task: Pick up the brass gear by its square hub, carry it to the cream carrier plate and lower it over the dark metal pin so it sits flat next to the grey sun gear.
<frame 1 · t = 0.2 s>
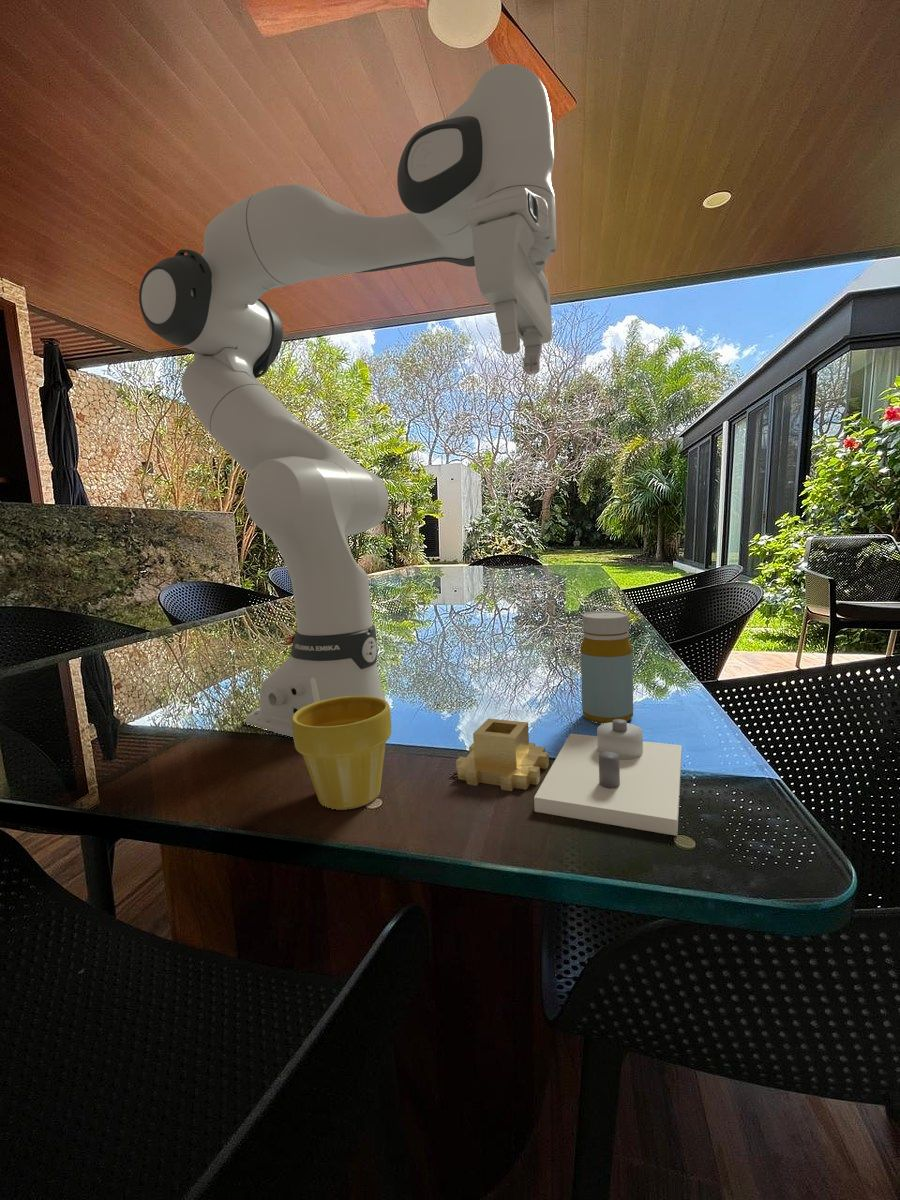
hand: (522, 363, 64), 47 cm above the table, tool pointing down, fingers open, 8 cm apart
bottle: (607, 718, 77), on the table
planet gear: (503, 768, 63), on the table
plant pot: (349, 796, 59), on the table
carrier plate: (614, 782, 58), on the table
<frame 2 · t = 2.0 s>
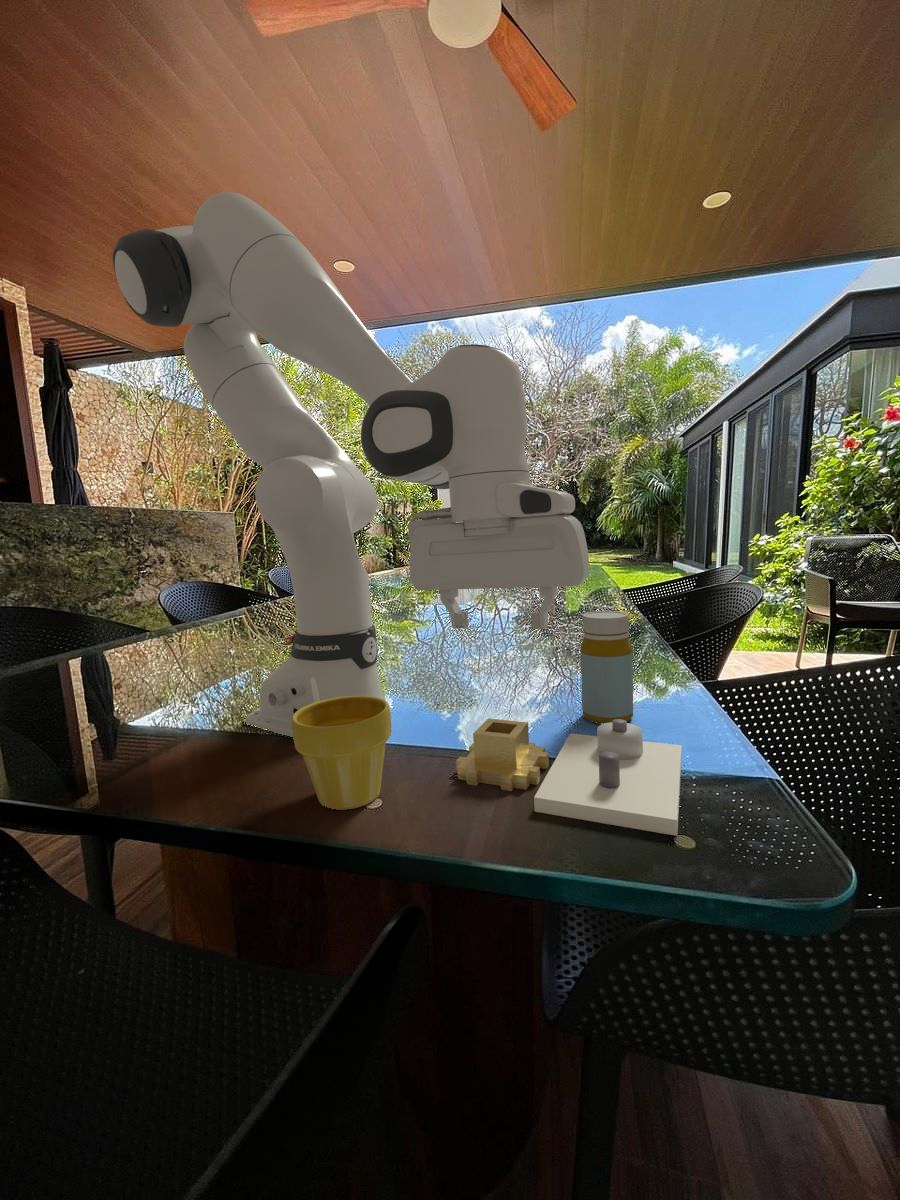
hand: (498, 627, 60), 17 cm above the table, tool pointing down, fingers open, 8 cm apart
nothing on the table moved.
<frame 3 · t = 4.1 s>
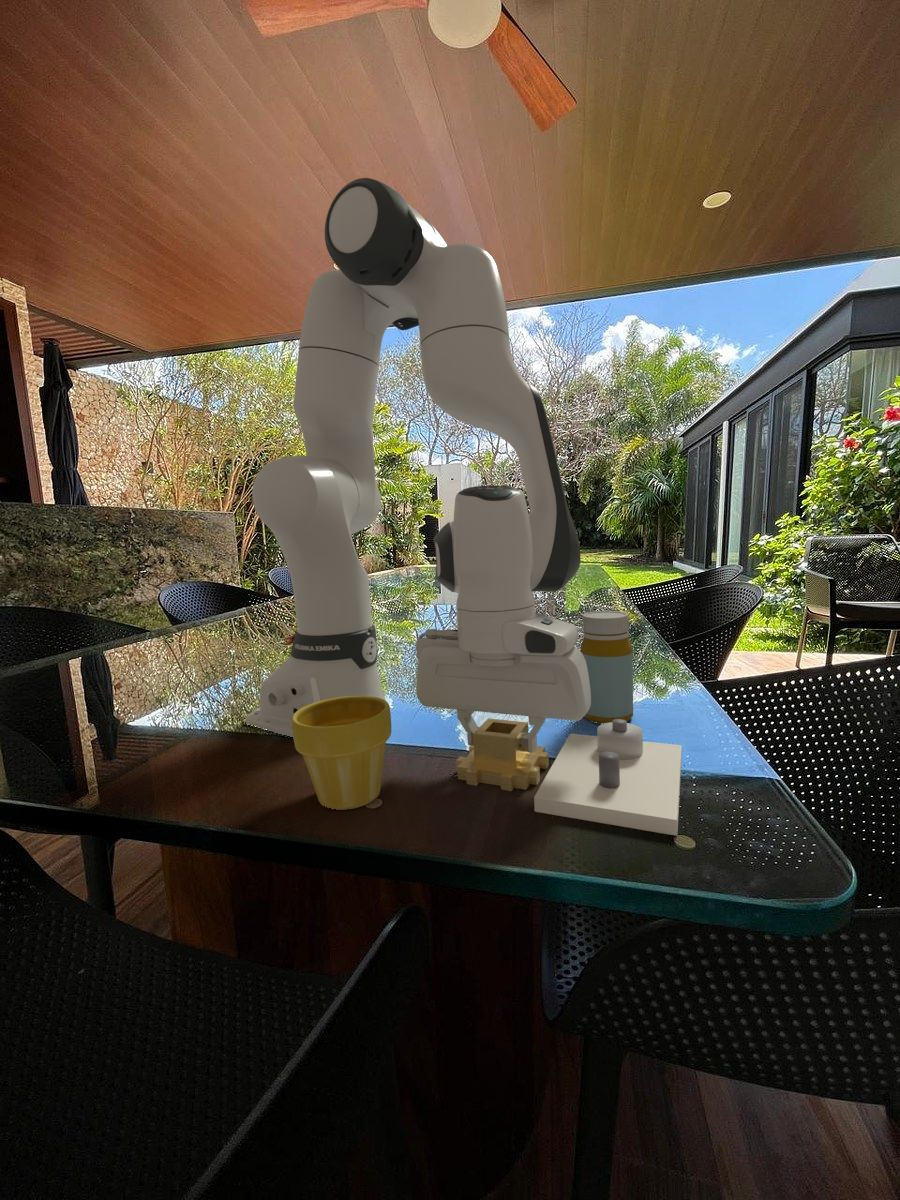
hand: (502, 747, 62), 3 cm above the table, tool pointing down, fingers closed on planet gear, 5 cm apart
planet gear: (503, 768, 63), on the table, touching gripper
everything else where it was.
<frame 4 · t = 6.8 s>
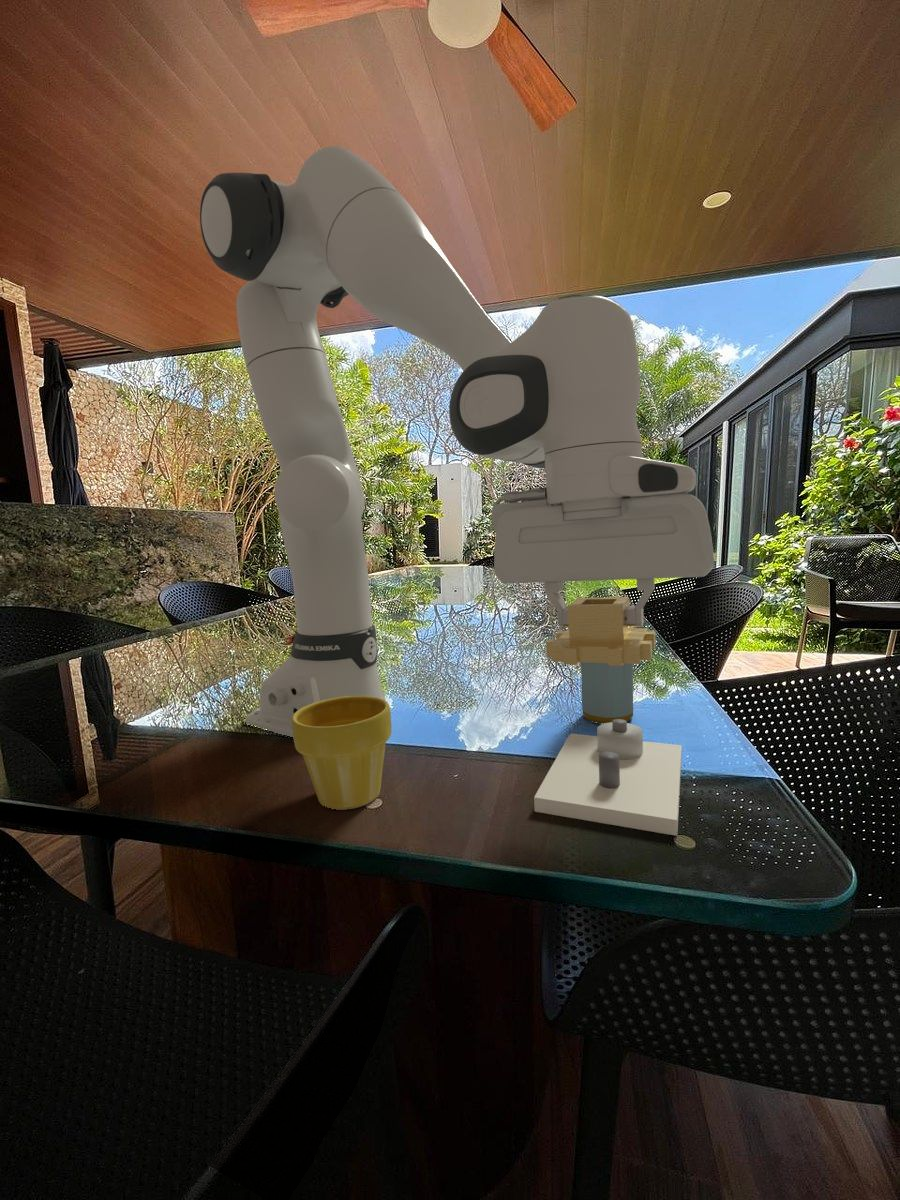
hand: (600, 625, 52), 18 cm above the table, tool pointing down, fingers closed on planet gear, 5 cm apart
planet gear: (601, 651, 53), point 15 cm above the table, touching gripper
everything else where it was.
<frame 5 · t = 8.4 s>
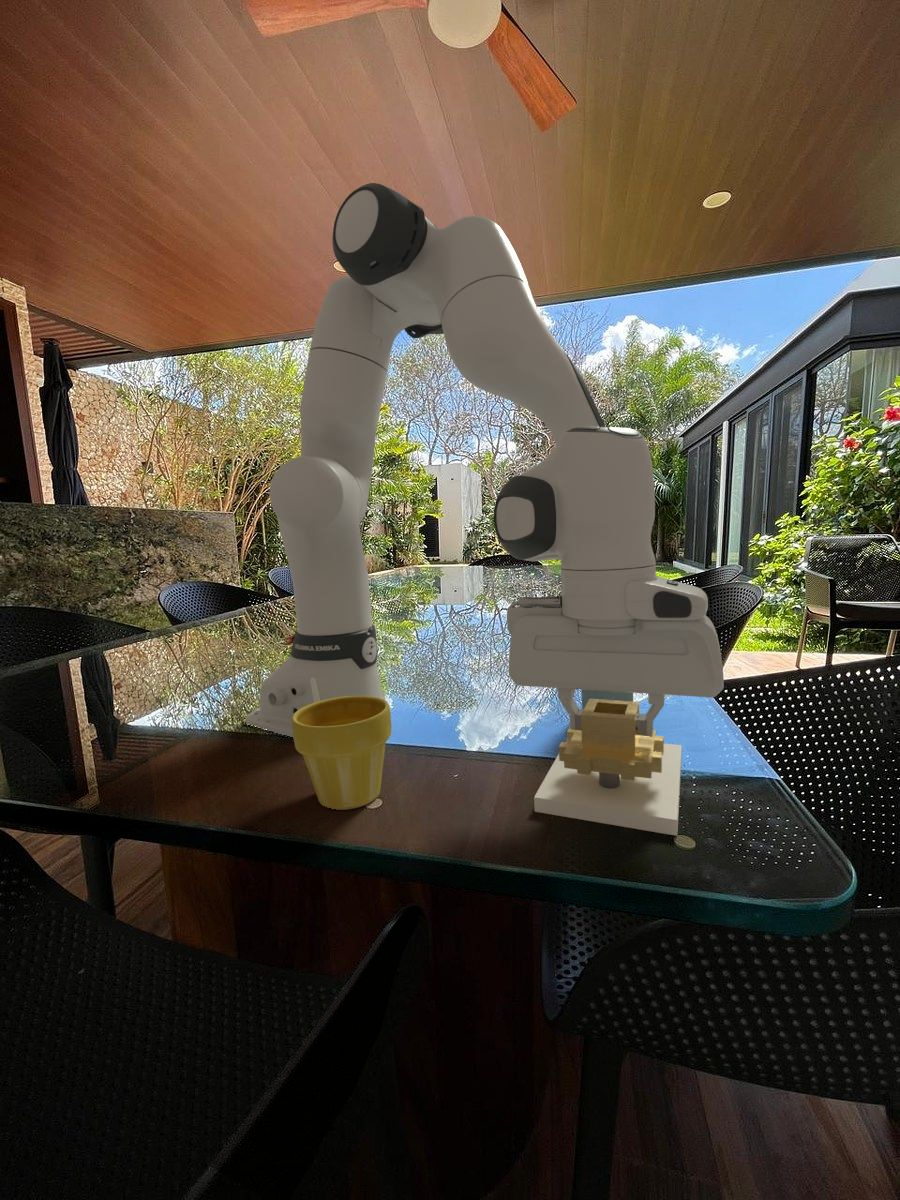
hand: (611, 731, 54), 7 cm above the table, tool pointing down, fingers closed on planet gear, 5 cm apart
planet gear: (611, 755, 54), point 4 cm above the table, touching gripper
everything else where it was.
when the fingers open (5 cm above the table, at t = 9.6 s): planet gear stays where it is, resting on carrier plate.
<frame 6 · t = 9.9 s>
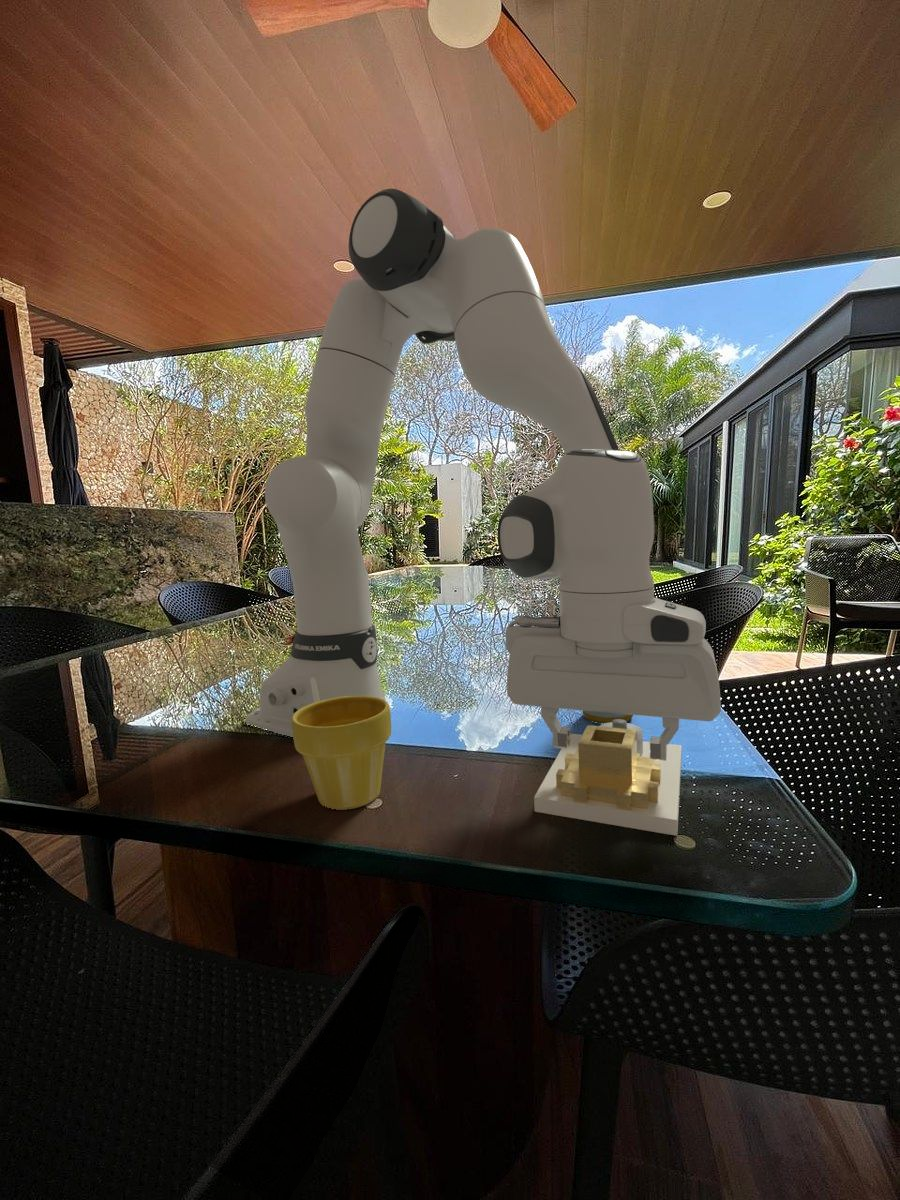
hand: (608, 752, 54), 5 cm above the table, tool pointing down, fingers open, 8 cm apart
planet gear: (609, 783, 55), point 1 cm above the table, touching carrier plate
everything else where it was.
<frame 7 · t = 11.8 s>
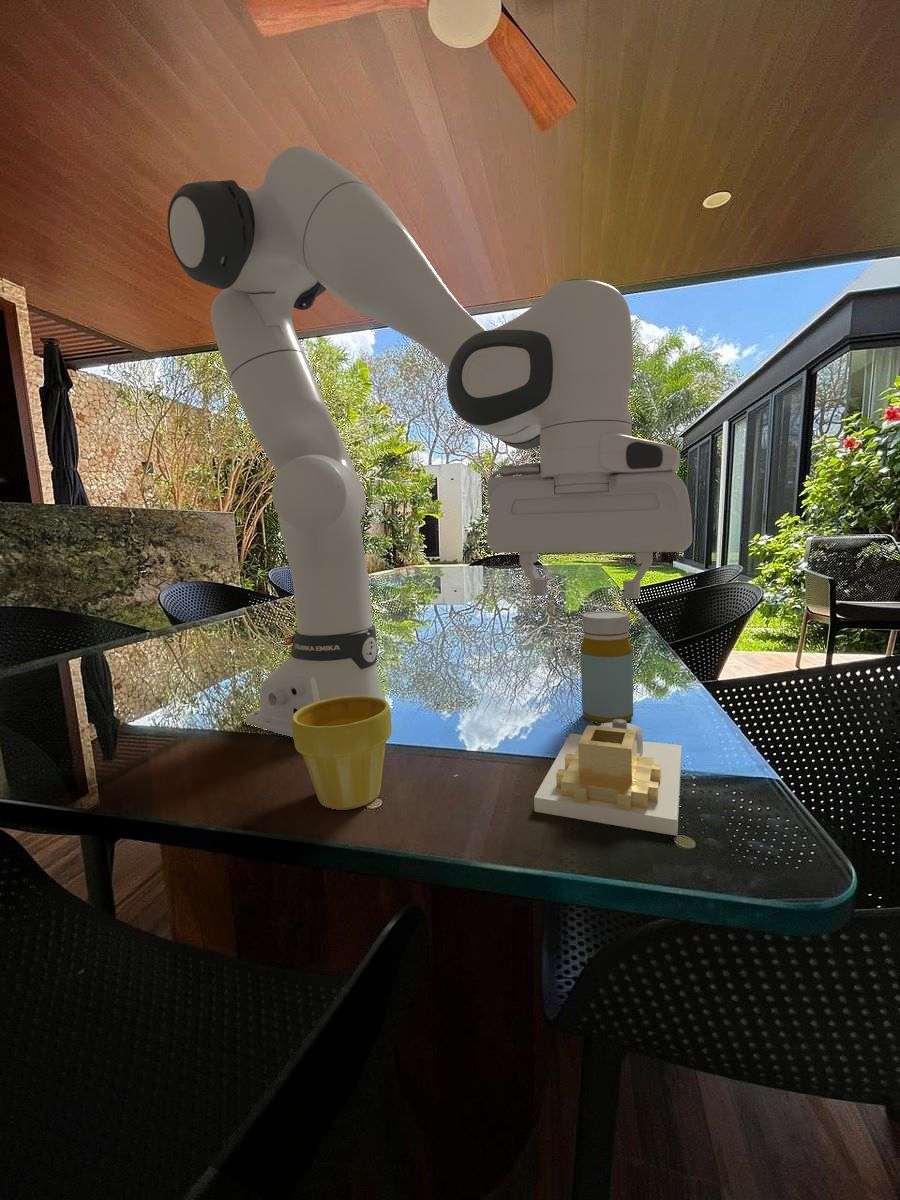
hand: (583, 596, 55), 20 cm above the table, tool pointing down, fingers open, 8 cm apart
nothing on the table moved.
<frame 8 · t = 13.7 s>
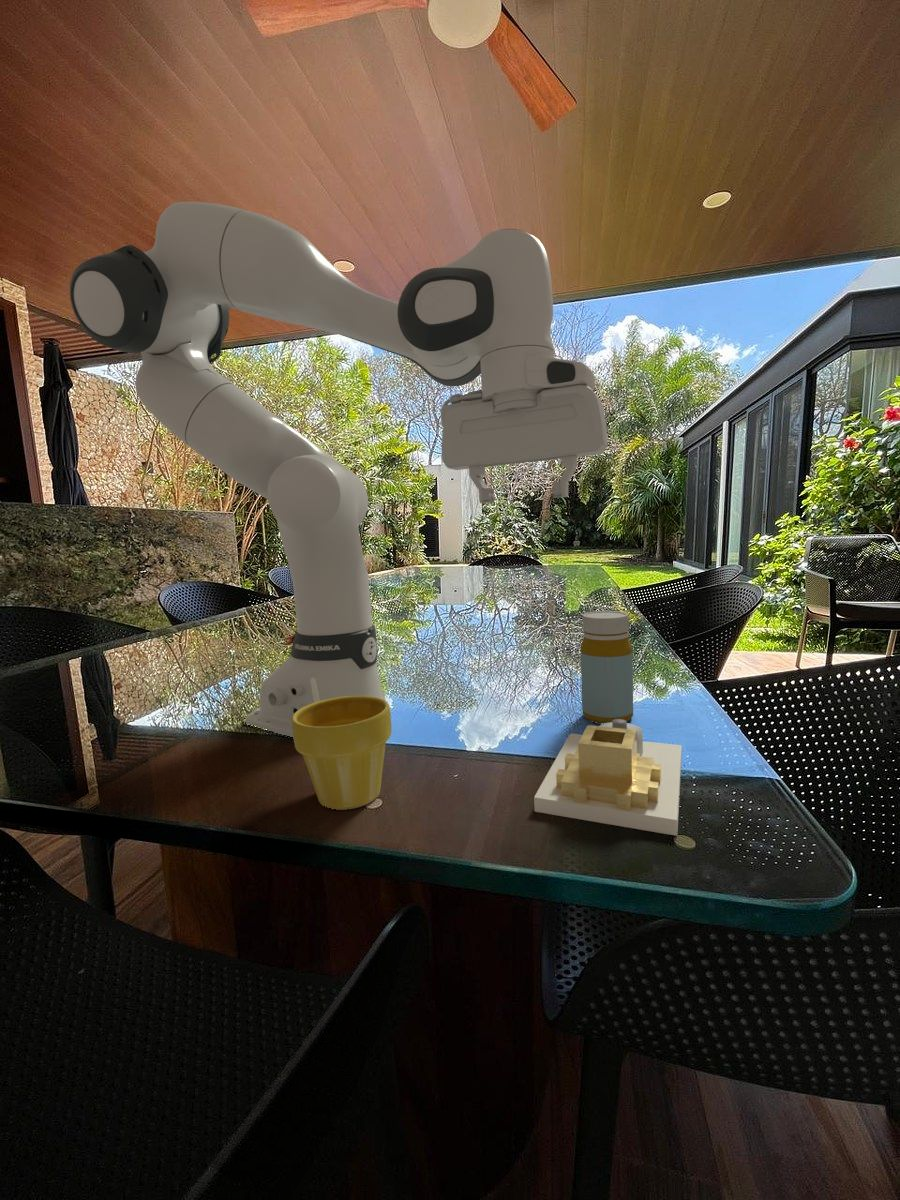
hand: (523, 500, 66), 31 cm above the table, tool pointing down, fingers open, 8 cm apart
nothing on the table moved.
at the end: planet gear 0.1 cm from the target spot on the carrier plate, point 1.5 cm above the carrier plate's base; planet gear tilted 0°; the gripper is holding nothing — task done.
